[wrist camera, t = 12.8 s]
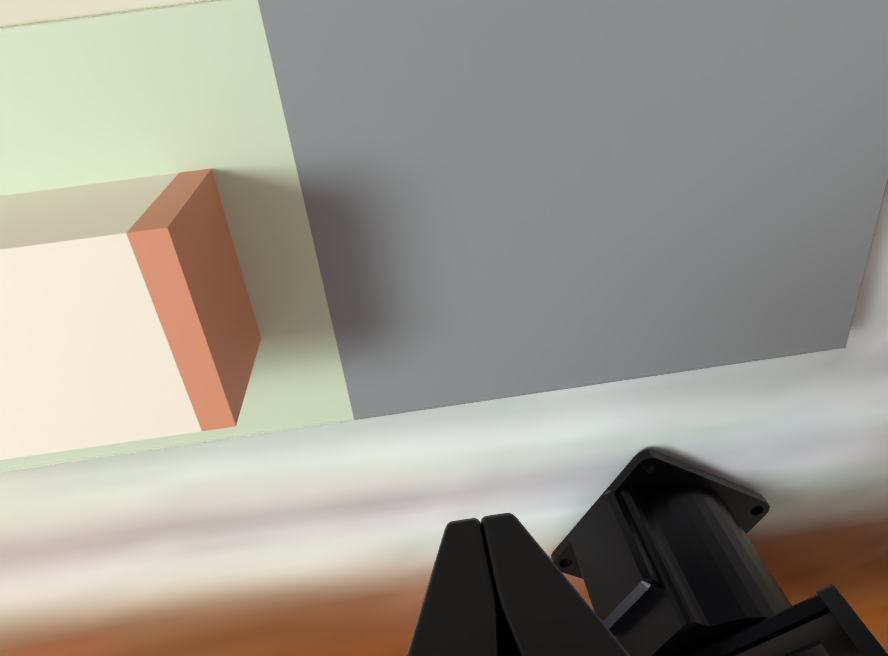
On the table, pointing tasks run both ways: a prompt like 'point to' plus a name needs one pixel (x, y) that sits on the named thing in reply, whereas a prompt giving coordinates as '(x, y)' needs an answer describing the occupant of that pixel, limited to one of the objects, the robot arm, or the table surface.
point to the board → (483, 182)
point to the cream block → (120, 314)
